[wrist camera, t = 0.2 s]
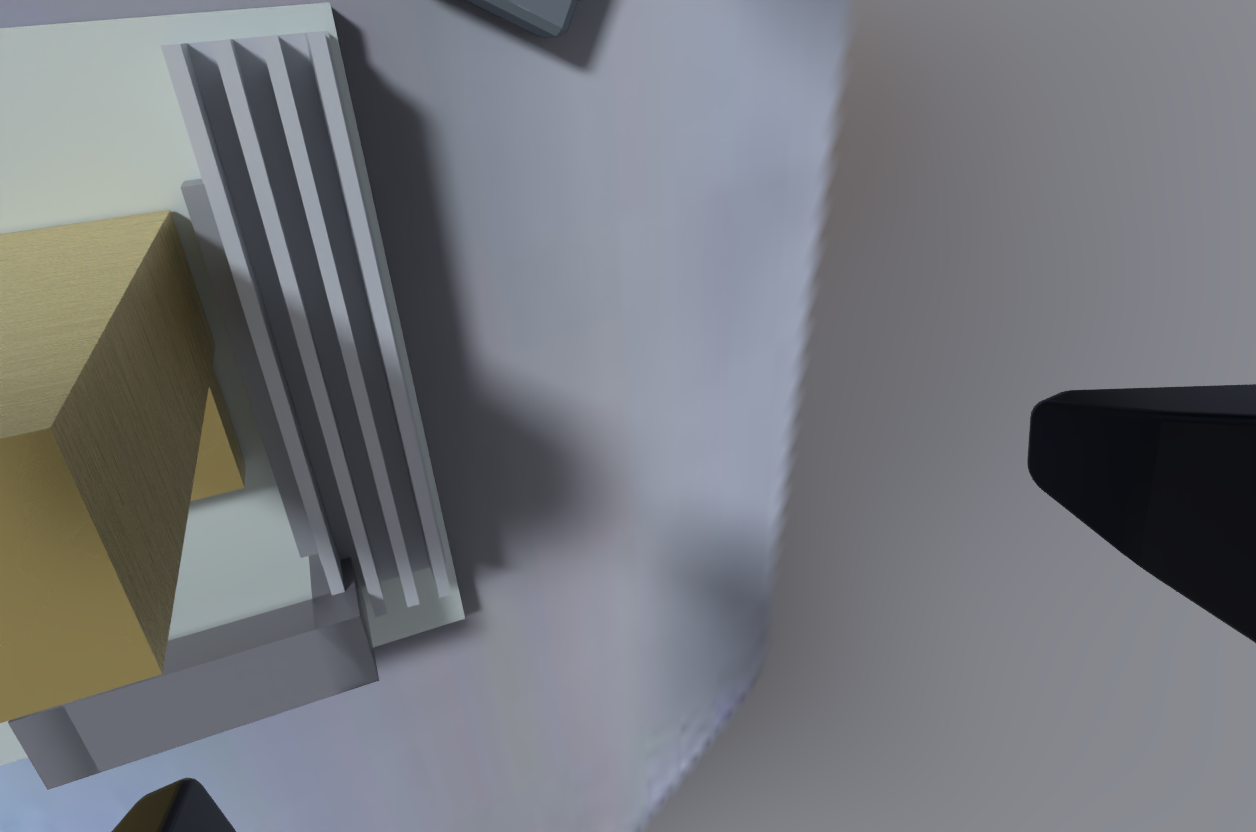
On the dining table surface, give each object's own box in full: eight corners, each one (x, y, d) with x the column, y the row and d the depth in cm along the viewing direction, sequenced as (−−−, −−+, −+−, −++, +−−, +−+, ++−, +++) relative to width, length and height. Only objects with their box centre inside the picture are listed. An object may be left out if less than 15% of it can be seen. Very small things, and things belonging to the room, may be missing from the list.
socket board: (-428, 63, 13) (-654, 72, 10) (327, 3, 17) (342, -4, 14) (-7, 746, 21) (-58, 881, 17) (459, 602, 24) (489, 690, 21)
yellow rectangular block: (-61, 242, 15) (-554, 554, 6) (170, 209, 17) (50, 428, 7) (64, 507, 18) (-146, 999, 9) (254, 462, 19) (244, 853, 10)
